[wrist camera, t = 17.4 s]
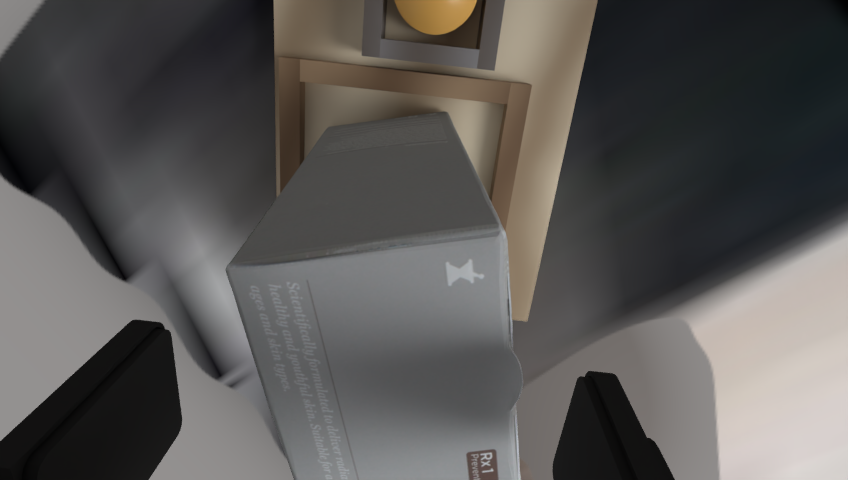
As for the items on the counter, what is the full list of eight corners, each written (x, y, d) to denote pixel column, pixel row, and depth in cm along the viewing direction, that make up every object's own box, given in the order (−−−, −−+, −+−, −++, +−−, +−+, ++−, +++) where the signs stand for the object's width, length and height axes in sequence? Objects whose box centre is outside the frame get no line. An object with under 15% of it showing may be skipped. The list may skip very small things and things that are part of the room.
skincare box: (327, 124, 25) (175, 248, 10) (466, 107, 24) (516, 211, 10) (356, 271, 28) (272, 526, 13) (479, 258, 28) (532, 508, 13)
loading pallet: (600, -58, 23) (628, -73, 20) (522, 308, 30) (533, 340, 27) (282, -96, 22) (256, -118, 19) (285, 284, 30) (267, 314, 27)
